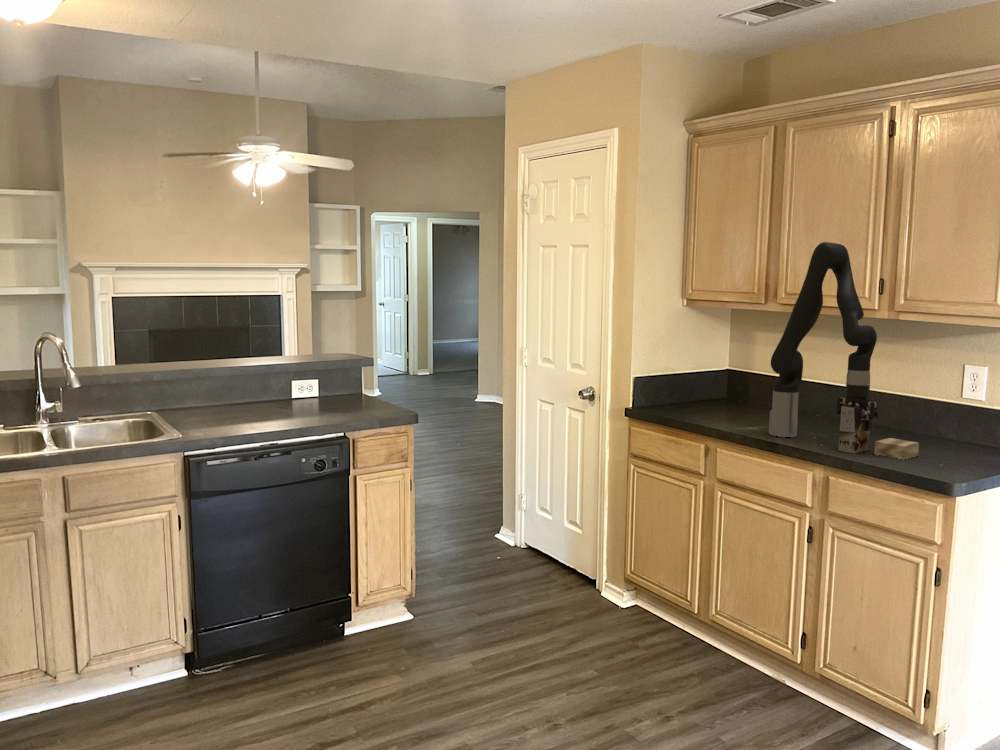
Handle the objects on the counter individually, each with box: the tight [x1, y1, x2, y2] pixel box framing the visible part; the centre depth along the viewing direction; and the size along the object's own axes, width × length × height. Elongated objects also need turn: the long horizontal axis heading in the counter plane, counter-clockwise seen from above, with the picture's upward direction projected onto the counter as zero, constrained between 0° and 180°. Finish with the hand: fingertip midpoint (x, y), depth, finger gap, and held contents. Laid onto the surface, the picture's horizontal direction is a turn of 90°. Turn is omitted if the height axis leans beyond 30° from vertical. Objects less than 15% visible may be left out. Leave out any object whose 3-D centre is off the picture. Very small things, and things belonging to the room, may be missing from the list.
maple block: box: [873, 437, 920, 461], centre depth 268 cm, size 10×10×5 cm
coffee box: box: [838, 404, 871, 455], centre depth 274 cm, size 9×6×16 cm
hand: (855, 428), depth 274 cm, fingers open, 8 cm apart
